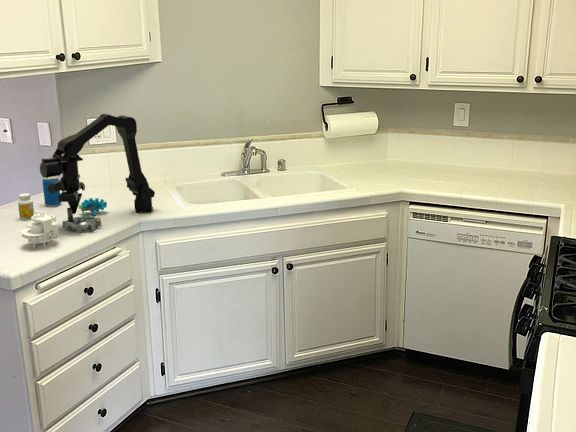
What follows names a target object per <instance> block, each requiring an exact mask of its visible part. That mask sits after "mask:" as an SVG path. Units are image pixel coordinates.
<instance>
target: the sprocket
mask: <svg viewBox="0 0 576 432" xmlns="http://www.w3.org/2000/svg"><path fill="white" fill-rule="evenodd" d="M66 211H67V214H66V215H67V220H62V228H63V229H64V231H65V232H76V233H82V231H84V232H88V231H91V232H93V231H96V229H97V228H99V227H102V220H101V217H99V216H98V217H96V216H89V215H84V216H82V215H81V216H76V217H74V214H73V213H72V208H70V207H67V208H66Z"/></svg>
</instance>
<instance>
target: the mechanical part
mask: <svg viewBox="0 0 576 432" xmlns="http://www.w3.org/2000/svg"><path fill="white" fill-rule="evenodd" d="M58 225H59V224H58V222H57V217H56V215H47V213H46V212H45V211H41V210H39V209H38V210H36V211H35V210H34V215H33V216H32V217H31V221H30V222H27V223H26V228H24V229H22V230H21V233H20V234H21V237H22V238H24V239H27V242H28V243H29V244H31V246H33V248H36V244H42V245H43V247H45V248H46V243H47V245H48V244H50V242H49V241H50V240H55V239H56V240H57V239H58V238H59V235H60V234H59V232H60V231H59V226H58Z"/></svg>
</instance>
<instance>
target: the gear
mask: <svg viewBox="0 0 576 432" xmlns="http://www.w3.org/2000/svg"><path fill="white" fill-rule="evenodd" d="M107 205H108V204H107V201H105V199H99V197H95V199H93V198H92V197H91V198H90V197H89V198H88V199H84V200H83V201H82V202H81V204H79V205H78V209H79V210H80V211H81V213H82V214H81V216H85V212H87V211H89V212H92V217H96V216H97V213H96V212H100V210H101V211H104V210H105V208H107Z"/></svg>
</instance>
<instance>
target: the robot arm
mask: <svg viewBox="0 0 576 432" xmlns="http://www.w3.org/2000/svg"><path fill="white" fill-rule="evenodd" d="M137 124H138V123H137V119H135V118H134V117H132V116H129V115H128V116H127V115H121V114H120V115H118V116H114V115H112V114H108V113H102V114H100V115H99V117H97V118H96V119H95V120H93V121H92V122H90V123H89V124H88V125H86V126H85V127H84V128H82V129H81V130H80V131H78V132H76V133H74V134H72V135H68V136H66V137H64V138H62V139H60V140H59V141H58V142H57V148H56V149H55V151H54V153H53V155H52V157H50V158H49V157H48V158H41V163H40V165H39V171H40V175H41V176H42V178H47V177H53V176H57V177H59V176H61V174H62V176H61V178H60V179H59V181H56V182H52V183H49V184H48V186H47V188H48V189H47V191H49V192H50V194H53V193H54V192H57V191H60V195H59V196H58V199H59V202H61V203H67V204H68V206H69V208H72V213H73V215H76V213H77V211H78V209H79V205H80V202H81V198H82V196H83V193H80V192H79V191H80V190H82V191H85V190H86V184H85V183H84V182H82V181H80V178H81V175H80V174H79V164H78V163H79V162H81V161H82V162H83V161H84V158H82V157H81V156H80V155H79V153H80V152H81V151H82V150H83V148H84V146H85V144H86V143H87V142H89V141H90V140H91V139H93V138H94V137H95V136H97V135H98V134H99V133H101V132H102V131H103V130H105V129H106V128H107V127H109V126H113V127H115V128H116V131H117V133H118V134H119V136H120V137H121V139H122V143H123V147H124V153H125V156H126V162H127V166H128V167H127V168H128V173H129V175H128V177H125V182H126V188H128V190H129V191H130V192H131V193H132V195H133V196H135V199H134V200H133V202H134V205H133V206H134V210H135V213H137V214H138V213H152V212H153V209H154V206H153V198H154V197H155V195H156V192H155V191H154V190H153V189H152V188H151V187H150V185H149V183H148V179H147V177H146V176H145V174H144V173H143V172H142V167H141V163H140V161H141V160H140V155H139V151H138V147H137V142H136V141H137V140H136V135H137V131H138V127H137Z"/></svg>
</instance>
